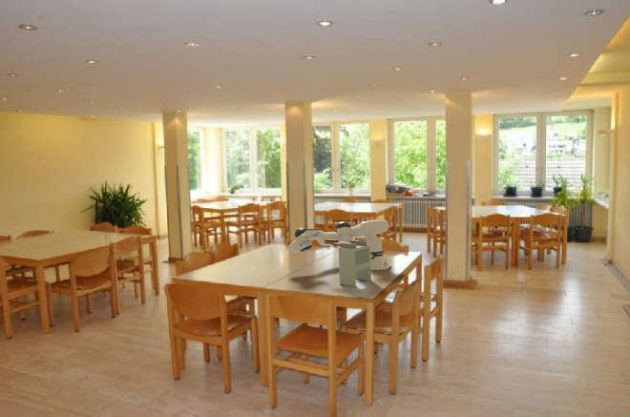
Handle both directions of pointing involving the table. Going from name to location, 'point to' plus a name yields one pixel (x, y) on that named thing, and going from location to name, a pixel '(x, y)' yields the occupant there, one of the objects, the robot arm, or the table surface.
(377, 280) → the table surface
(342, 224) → the robot arm
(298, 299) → the table surface
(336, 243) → the board with handle
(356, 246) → the stand
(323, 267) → the table surface
